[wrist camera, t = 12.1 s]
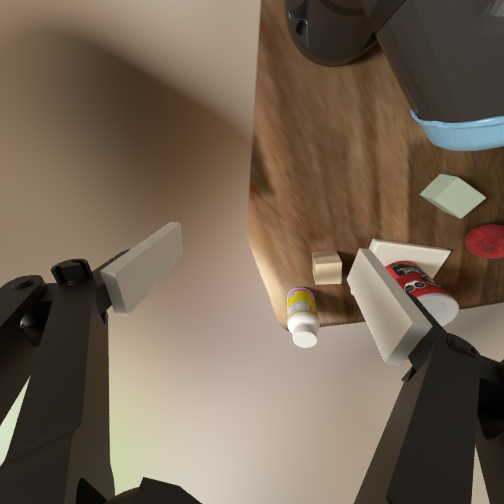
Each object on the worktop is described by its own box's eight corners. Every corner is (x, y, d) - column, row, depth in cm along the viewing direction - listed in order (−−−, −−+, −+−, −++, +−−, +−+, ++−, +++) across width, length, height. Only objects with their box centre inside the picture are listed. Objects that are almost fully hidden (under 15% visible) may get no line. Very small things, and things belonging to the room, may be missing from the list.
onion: (447, 245, 39) (482, 267, 32) (463, 217, 36) (505, 234, 29) (480, 247, 38) (524, 270, 31) (499, 219, 35) (551, 237, 28)
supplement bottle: (313, 306, 51) (321, 352, 40) (287, 306, 52) (288, 350, 41) (314, 285, 48) (323, 329, 37) (286, 285, 49) (287, 327, 38)
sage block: (439, 173, 33) (458, 177, 30) (465, 192, 34) (486, 197, 31) (419, 194, 35) (433, 199, 32) (443, 211, 36) (460, 218, 33)
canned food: (427, 266, 40) (472, 305, 30) (401, 294, 44) (433, 336, 34) (392, 254, 40) (426, 289, 30) (369, 283, 44) (392, 322, 34)
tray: (373, 238, 40) (375, 241, 39) (446, 248, 39) (451, 251, 38) (350, 291, 47) (352, 295, 46) (412, 301, 46) (415, 305, 45)
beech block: (312, 252, 44) (315, 264, 39) (336, 250, 43) (342, 262, 38) (312, 271, 46) (315, 284, 42) (335, 269, 45) (341, 283, 41)
